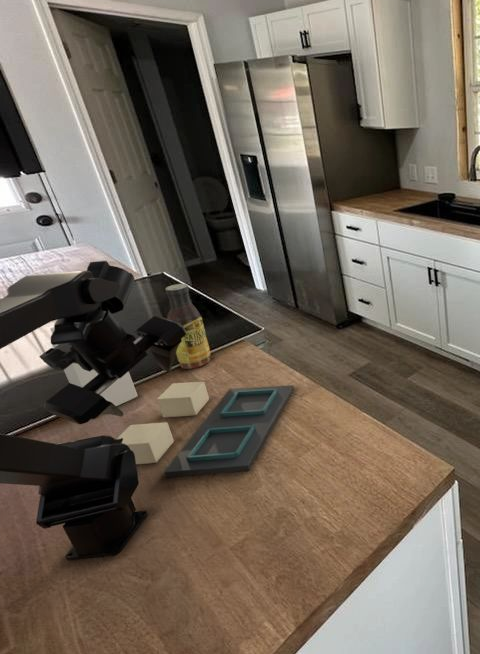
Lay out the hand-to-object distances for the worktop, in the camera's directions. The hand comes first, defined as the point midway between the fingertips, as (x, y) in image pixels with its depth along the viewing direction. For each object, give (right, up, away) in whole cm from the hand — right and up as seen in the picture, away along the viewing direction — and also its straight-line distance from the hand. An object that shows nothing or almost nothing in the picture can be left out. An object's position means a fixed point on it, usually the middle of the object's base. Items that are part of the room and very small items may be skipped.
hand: (144, 391), depth 72 cm
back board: (+12, -9, +7) cm, 17 cm away
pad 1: (0, -11, +1) cm, 11 cm away
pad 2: (-2, -7, +12) cm, 14 cm away
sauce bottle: (-11, -1, +27) cm, 29 cm away
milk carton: (-19, -6, +13) cm, 24 cm away
